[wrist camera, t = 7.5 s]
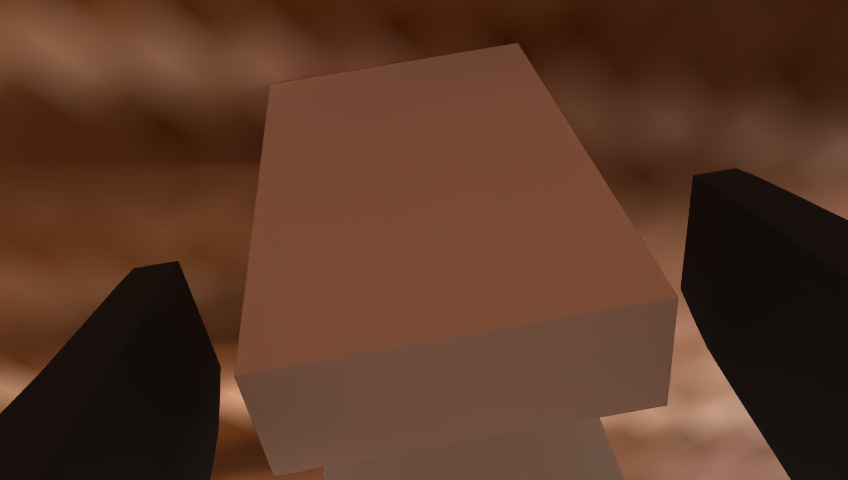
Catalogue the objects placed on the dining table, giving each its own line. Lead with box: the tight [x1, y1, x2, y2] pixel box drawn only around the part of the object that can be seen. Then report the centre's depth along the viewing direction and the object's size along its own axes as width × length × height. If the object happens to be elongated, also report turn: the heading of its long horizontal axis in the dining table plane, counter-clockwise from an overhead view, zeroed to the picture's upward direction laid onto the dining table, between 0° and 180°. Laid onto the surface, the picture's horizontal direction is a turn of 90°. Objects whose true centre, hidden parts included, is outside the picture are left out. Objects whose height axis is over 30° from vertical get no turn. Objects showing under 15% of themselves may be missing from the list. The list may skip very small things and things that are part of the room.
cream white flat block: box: [324, 418, 625, 480], centre depth 15 cm, size 2×5×8 cm, turn 97°
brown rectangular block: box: [234, 43, 678, 476], centre depth 12 cm, size 2×5×8 cm, turn 97°
